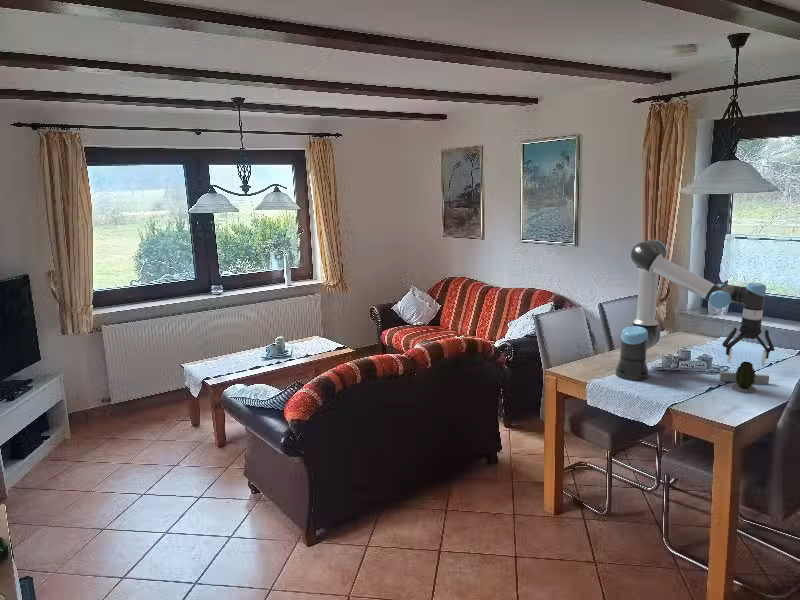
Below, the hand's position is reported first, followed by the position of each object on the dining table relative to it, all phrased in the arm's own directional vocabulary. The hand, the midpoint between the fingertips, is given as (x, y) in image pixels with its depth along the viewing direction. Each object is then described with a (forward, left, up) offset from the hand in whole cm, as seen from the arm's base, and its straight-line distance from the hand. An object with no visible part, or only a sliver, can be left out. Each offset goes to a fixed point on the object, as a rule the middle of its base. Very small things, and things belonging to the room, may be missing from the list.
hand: (745, 363), depth 261 cm
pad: (0, 0, -12) cm, 12 cm away
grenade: (0, 0, -12) cm, 12 cm away
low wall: (+2, +10, -12) cm, 16 cm away
